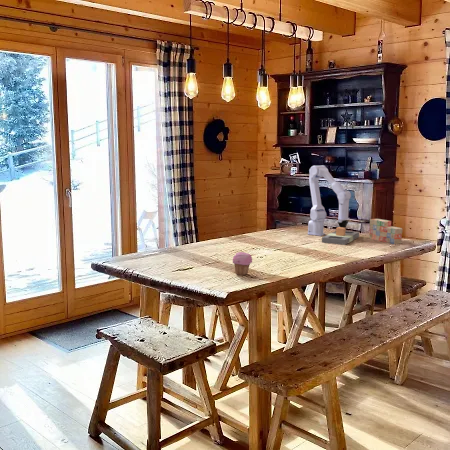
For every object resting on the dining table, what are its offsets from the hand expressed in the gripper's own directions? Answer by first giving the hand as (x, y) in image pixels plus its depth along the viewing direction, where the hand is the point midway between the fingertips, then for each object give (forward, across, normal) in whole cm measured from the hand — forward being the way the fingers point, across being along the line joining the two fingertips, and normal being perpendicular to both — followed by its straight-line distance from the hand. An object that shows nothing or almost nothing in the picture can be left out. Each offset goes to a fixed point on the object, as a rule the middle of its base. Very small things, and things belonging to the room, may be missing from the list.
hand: (342, 232), depth 330 cm
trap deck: (+4, -2, 0) cm, 4 cm away
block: (+1, -4, 0) cm, 4 cm away
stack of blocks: (+4, +9, -24) cm, 26 cm away
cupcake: (+4, -111, +13) cm, 112 cm away
